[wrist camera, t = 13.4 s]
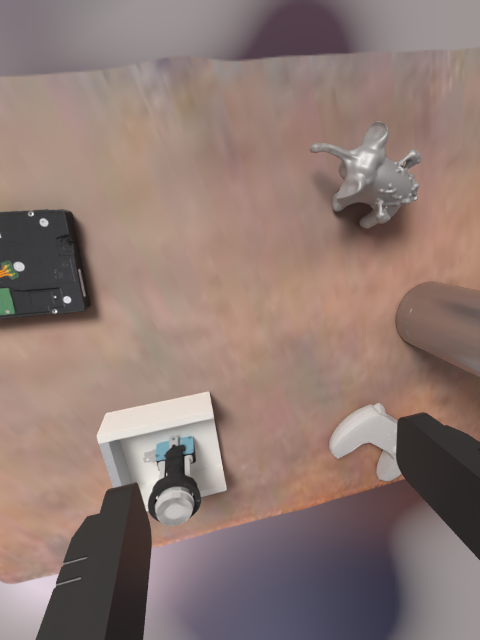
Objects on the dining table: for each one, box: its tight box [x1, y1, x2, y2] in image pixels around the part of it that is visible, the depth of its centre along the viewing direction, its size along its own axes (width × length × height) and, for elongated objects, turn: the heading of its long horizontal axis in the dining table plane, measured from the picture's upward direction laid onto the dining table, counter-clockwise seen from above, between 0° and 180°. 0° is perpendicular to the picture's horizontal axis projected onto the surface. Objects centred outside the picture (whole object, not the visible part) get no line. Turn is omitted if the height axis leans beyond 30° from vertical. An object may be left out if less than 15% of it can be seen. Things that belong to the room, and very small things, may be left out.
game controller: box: [329, 403, 402, 481], centre depth 45 cm, size 14×4×10 cm
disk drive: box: [0, 209, 90, 319], centre depth 30 cm, size 10×3×15 cm
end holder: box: [97, 392, 227, 511], centre depth 38 cm, size 13×12×4 cm
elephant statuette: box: [310, 121, 421, 229], centre depth 31 cm, size 9×12×8 cm
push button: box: [143, 435, 201, 526], centre depth 34 cm, size 7×5×10 cm
